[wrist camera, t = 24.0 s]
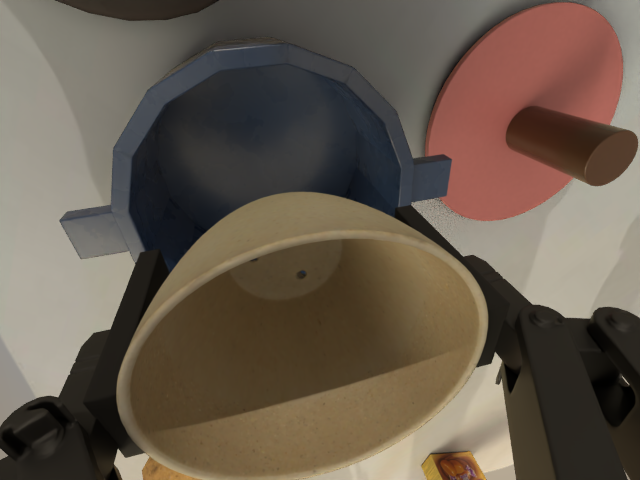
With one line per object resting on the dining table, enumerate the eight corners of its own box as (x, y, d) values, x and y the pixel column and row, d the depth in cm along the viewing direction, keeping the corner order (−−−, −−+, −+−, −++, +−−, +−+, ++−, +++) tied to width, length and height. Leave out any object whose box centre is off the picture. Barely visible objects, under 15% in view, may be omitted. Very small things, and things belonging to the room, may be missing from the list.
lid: (433, 12, 23) (528, 7, 16) (644, -6, 25) (810, -18, 18) (413, 228, 32) (467, 288, 25) (569, 199, 34) (659, 246, 27)
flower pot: (278, 356, 19) (301, 508, 13) (108, 252, 14) (15, 431, 8) (427, 245, 17) (533, 363, 11) (299, 73, 12) (372, 127, 6)
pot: (57, 55, 20) (-38, 72, 12) (403, 24, 23) (481, 24, 16) (150, 270, 28) (125, 352, 21) (392, 226, 31) (439, 285, 24)
